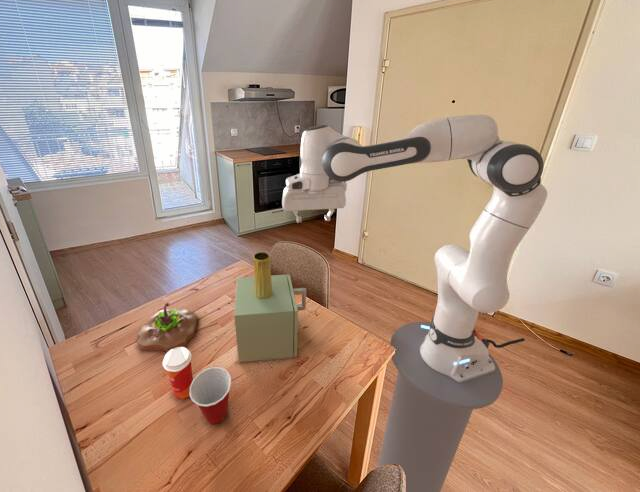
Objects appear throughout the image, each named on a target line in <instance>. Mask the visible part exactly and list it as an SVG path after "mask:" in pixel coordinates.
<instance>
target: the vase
mask: <svg viewBox="0 0 640 492" xmlns="http://www.w3.org/2000/svg"><path fill="white" fill-rule="evenodd" d="M252 261H253V277H254V285H255V290H254V295H255V296H256V297H258V298H268V297H270V296H271V295H272V281H271V275H272V271H271V270H272V268H271V255H270V253H269V252H266V251H257V252H256V253H254V254H253V259H252Z"/></svg>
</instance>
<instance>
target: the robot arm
mask: <svg viewBox="0 0 640 492" xmlns="http://www.w3.org/2000/svg"><path fill="white" fill-rule="evenodd" d="M300 140H301V141H300V150H299V151H300V154H299V155H300V156H299V157H300V161H301V162H300V163H301V165H300V170H299V173H297V174H295V175H292V176H288V177H287V178H286V179H285V185H286V186H285V187H283V190H282V191H283V192H282V197H281V206H282V210H283V211H284V212H293V215H294V216H295V220H296V223H297V224H299V223H300V224H301V223H302V222H303V221H302V216H301V215H298V214H299V211H316V210H328V212H327V214H324V221H325V222H330V221H331V217H332V215H333V214H334V212H335V209H344V207H346V205H347V200H346V199H347V198H346V191H347V188H348V183H347V182H349V181H351V180H354V179H355V178H357V177H358V176H361V175H362V174H365V173H367V172H371V171H377V170H382V169H387V168H394V167H399V166H405V165H415V164H431V163H443V162H448V161H449V162H451V161H456V160H467V163H468V165H469V166H468V167H469V169H470V171H471V172H472V174H473V175H474V176H475V177H477V178H478V179H480V180H482V182H484V183H486V184H488V185H490V186H491V185H492V188H493V190H492V195H491V197H490V200H489V201H488V203H487V204H486V205H485V207H484V209H483V210H482V212H481V213H480V215H479V216H478V218H477V220H476V221H475V222H474V224H473V226H472V227H471V229H470V231H469V235H468V237H469V243H470V247H469V249H466V248H464V247H463V246H460V245H457V244H453V243H452V244H446V245H443V246H442V247H440V248H439V249H438V250H437V251H436V252H435V254H434V257H433V258H434V259H433V262H434V266H435V269H436V275H437V276H436V277H437V301H436V302H437V303H436V305H435V306H436V307H435V311H434V315H433V317H432V318H431V321H430V322H431V324H430V327H428V326H424V325H421V327H422V328H426V329H429V332H428V335H426V337H425V341H424V342H423V344H422V345H421V347H420V354H421V357H422V358H423V360H424V361H425V362H426V364H427V365H429V366H430V367H431V368H432V369H434V370H436V371H437V372H439V373H442V374H444V375H447V376H449V377H451V378H452V379H454V380H455V381H457V382H464V381H467V380H470V379H473V378H476V377H479V376H482V375H485V374H488V373H491V372H494V371H495V365H494V363H493V361H492V359H491V358H490V357H489V354H490V353H489V347H490V344H492V346H493V347H494V348H496V349H501V348H505V347H507V346H510V345H514V344H519V343H522V342H525V341H526V339H525V338H523V337H521V338H518V339H517V338H516V339H514V340H510V341H506V342H504V343H501V344H496V342H495V341H494V340H492V339H487V338H485V336H484V335H483V334H482V333H481V332H480V331H478V330H476V329H475V326H476V323H477V320H478V318H479V313H482V314H492V313H497V312H498V311H500V310H502V309H503V308H505V306H506V305H507V304H508V302H509V300H510V297H511V296H510V291H509V287H508V273H509V267H510V264H511V260H512V258H513V255H514V253H515V251H516V249H517V247H518V246H519V245H520V244H521V242H522V240H523V239H524V238H525V236H526V235H527V233H528V232H529V230H530V229H531V227H533V225H534V223H535V222H536V220H537V219H538V217H539V215H540V214H541V212H542V209H543V208H544V206H545V203H546V201H547V199H548V190H547V189H546V186H544V185H543V184H542V175H543V172H544V159H543V157H542V155H541V153H540V152H539V151H538V150H536V149H535V148H534V147H532V146H530V145H528V144H523V143H519V142H515V141H510V140H509V141H508V140H501V139H500V137H499V128H498V124H497V122H496V120H495V119H494V118H493V117H492V116H490V115H487V114H464V115H455V116H454V115H453V116H448V117H447V116H446V117H442V118H437V119H433V120H430V121H426V122H423V123H421V124H418V125H417V126H415V127H414V128H413V129H412V130H411V131H410V132H409V133H408V134H406V135H404V136H403V137H401V138H398V139H395V140H390V141H385V142H380V143H374V144H370V145H362V144H361V142H360V141H359V140H357V139H355V138H353V137H350V136H347V135H344V134H341V133H339V132H337V131H335V130H334V129H333V128H332V127H330V126H329V125H328V124H319V125H314V126H310V127H308V128H306V129H305V130H304V131H303V132H302V134H301V139H300Z"/></svg>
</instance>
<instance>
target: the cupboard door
mask: <svg viewBox="0 0 640 492" xmlns="http://www.w3.org/2000/svg"><path fill="white" fill-rule="evenodd" d="M286 276H287V281H288V285H289V290H290V295H291V300H292V305H293V310H294V337H293V358H297V357H298V328H299V327H298V322H299V321H298V319H299V311H305V310H306V308H307V288H306V287H298V288H294V287H293V283H292V282H293V281H292V279H291V274H286ZM297 295H301V303H297V300H296V297H295V296H297Z"/></svg>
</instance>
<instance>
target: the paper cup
mask: <svg viewBox="0 0 640 492" xmlns="http://www.w3.org/2000/svg"><path fill="white" fill-rule="evenodd" d="M162 367H163V369H164V370H165V372H166V375H167V379H168V381H169V385H170V387H171V390H172V392H173V395H174V397H175V398H176V399H178V400H184V399H187V398H188V397H190V395H189V392H190V385H191V383H192V381H193V379H194V378H193V367H192V352H191V351H190V350H189V349H188V348H186V346H185V347H181V348H180V347H177V348H175V349H171V350H169V351H168V352H166V353H165V355H164V357H163V360H162Z"/></svg>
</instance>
